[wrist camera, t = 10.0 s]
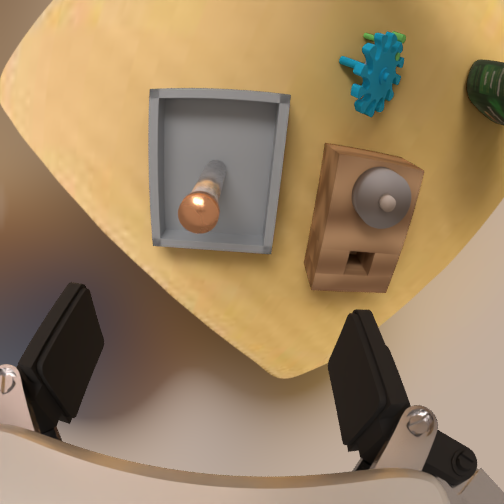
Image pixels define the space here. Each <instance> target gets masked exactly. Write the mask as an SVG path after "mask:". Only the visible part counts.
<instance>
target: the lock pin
mask: <svg viewBox="0 0 504 504" xmlns="http://www.w3.org/2000/svg"><path fill="white" fill-rule="evenodd" d="M225 175H226V166H225V164H224V163H223V162H222V161H220V160H212V161H210V162H208V163H207V165H206V167H205V168H204V170H203V172H202V174H201V176H200V177H199V179H198V181H197V183H196V185H195V187H194V188H193V190H192V192H191V193H190V194H188V195H187V196H186V197H185V198H184V199H183V201H182V202H181V204H180V206H179V209H178V218H179V221H180V223H181V225H182V226H183V227H184V228H185V229H186V230H188V231H190V232H192V233H196V234H202V233H206V232H209V231H211V230H212V229H213V228H214V227H215V226H216V224H217V222H218V219H219V214H220V206H219V203H218V202H219V198H220V194H221V190H222V186H223V183H224V179H225Z"/></svg>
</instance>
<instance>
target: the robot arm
mask: <svg viewBox="0 0 504 504" xmlns="http://www.w3.org/2000/svg"><path fill="white" fill-rule="evenodd" d="M103 346H104V339H103V335H102V332H101V329H100V326H99V322H98V319H97V315H96V312H95V308H94V305H93V301H92V297H91V294H90V291H89V289H87V288H86V286H85V285H83V284H79V283H72V282H71V283H69V284H68V285H67V287H66V288H65V289H64V291H63V292H62V294H61V295H60V297H59V298H58V300H57V301H56V303H55V304H54V306H53V307H52V309H51V310H50V312H49V313H48V315H47V316H46V318H45V319H44V321H43V322H42V324H41V326H40V327H39V329H38V330H37V332H36V334H35V335H34V337H33V338H32V340H31V342H30V343H29V345H28V347H27V348H26V350H25V352H24V354H23V355H22V357H21V359H20V361H19V363H18V366H17V367H14V366H12V365H8V364H5V365H1V366H0V504H504V493H503V491H502V490H501V489H500V488H499V487H498V486H497V485H496V484H495V482H494V481H493V480H492V479H491V478H490V477H489V476H488V475H487V474H486V473H485V472H484V470H483V469H482V468H480V469H477V459H476V456H475V454H474V453H473V451H472V450H470V449H469V448H468V447H466V446H464V445H462V444H461V443H459V442H457V441H456V440H454V439H452V438H451V437H449V436H447V435H446V434H444V433H442V432H440V431H439V430H437V429H438V422H437V419H436V417H435V415H434V414H433V412H432V411H431V410H429V409H428V408H426V407H424V406H420V405H414V406H410V403H409V400H408V397H407V394H406V391H405V389H404V386H403V383H402V381H401V378H400V375H399V373H398V370H397V368H396V365H395V362H394V360H393V357H392V355H391V352H390V350H389V348H388V347H387V346H386V345H385V343H384V340H383V338H382V335H381V333H380V331H379V328H378V326H377V323H376V321H375V319H374V316H373V314H372V312H371V311H370V310H354V311H353V313H350V314H349V315H348V317H347V319H346V322H345V324H344V326H343V329H342V331H341V334H340V336H339V338H338V341H337V343H336V345H335V348H334V350H333V352H332V354H331V357H330V359H329V362H328V371H329V375H330V380H331V385H332V390H333V395H334V399H335V405H336V409H337V415H338V420H339V425H340V430H341V436H342V441H343V444H344V445H347V447H348V452H349V451H357V450H359V453H360V457H361V459H360V460H359V462H358V463H357V465H356V466H355V468H354V469H353V471H352V472H343V473H335V474H321V475H307V476H285V477H252V476H229V475H215V474H205V473H195V472H188V471H180V470H174V469H167V468H161V467H156V466H151V465H145V464H140V463H136V462H131V461H127V460H123V459H119V458H115V457H111V456H107V455H104V454H100V453H97V452H93V451H90V450H87V449H83V448H80V447H77V446H74V445H71V444H68V443H65V442H63V441H62V439H61V436H60V434H59V431H58V429H57V423H58V420H60V421H63V422H66V423H69V424H70V422H71V420H72V418H75V417H76V415H77V413H78V410H79V407H80V404H81V402H82V399H83V396H84V394H85V391H86V388H87V386H88V383H89V381H90V378H91V376H92V373H93V371H94V368H95V366H96V364H97V361H98V358H99V356H100V354H101V351H102V349H103Z"/></svg>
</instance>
